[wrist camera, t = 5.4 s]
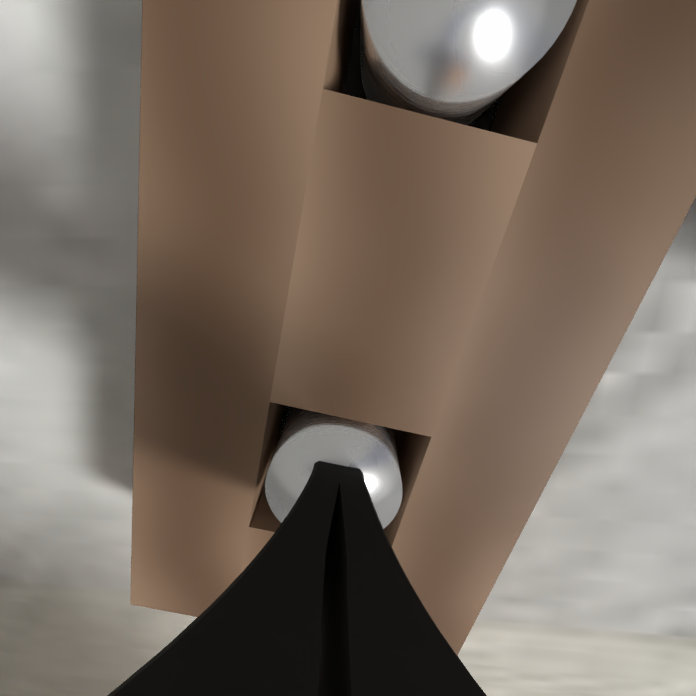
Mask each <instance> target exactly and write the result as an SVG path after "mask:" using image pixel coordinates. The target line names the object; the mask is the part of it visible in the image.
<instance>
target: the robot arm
mask: <svg viewBox="0 0 696 696" xmlns="http://www.w3.org/2000/svg"><path fill="white" fill-rule="evenodd" d="M108 696H486V694H485V693H484V692H483V690H482V689H481V688H480V687H479V685H478V684H477V683H476V681H475V680H474V679H473V677H472V676H471V675H470V673H469V672H468V670H467V669H466V668H465V666H464V665H463V663H462V662H461V660H460V659H459V658H458V656H457V655H456V653H455V652H454V650H453V649H452V648H451V646H450V645H449V643H448V642H447V641H446V639H445V638H444V636H443V635H442V633H441V632H440V631H439V629H438V628H437V626H436V624H435V623H434V621H433V620H432V618H431V616H430V615H429V613H428V612H427V610H426V609H425V607H424V605H423V604H422V602H421V600H420V599H419V597H418V595H417V594H416V592H415V590H414V588H413V587H412V585H411V583H410V581H409V580H408V578H407V576H406V574H405V572H404V570H403V569H402V567H401V565H400V563H399V561H398V559H397V557H396V555H395V553H394V551H393V549H392V547H391V545H390V542H389V540H388V538H387V536H386V534H385V531H384V529H383V527H382V524H381V522H380V520H379V517H378V515H377V513H376V510H375V508H374V505H373V502H372V500H371V497H370V494H369V491H368V488H367V485H366V482H365V479H364V475H363V472H362V471H361V469H357V468H352V467H348V466H343V465H338V464H333V463H328V462H323V461H318V462H316V463H314V467H313V470H312V473H311V475H310V477H309V479H308V482H307V483H306V485H305V487H304V489H303V491H302V493H301V494H300V496H299V498H298V499H297V501H296V502H295V504H294V506H293V507H292V509H291V510H290V512H289V513H288V515H287V516H286V518H285V519H284V520H283V522H282V523H281V525H280V526H279V527H278V529H277V530H276V531H275V533H274V534H273V536H272V537H271V538H270V539H269V541H268V542H267V543H266V545H265V546H264V547H263V548H262V550H261V551H260V552H259V553H258V554H257V556H256V557H255V558H254V559H253V560H252V561H251V563H250V564H249V565H248V566H247V567H246V568H245V569H244V571H243V572H242V573H241V574H240V575H239V576H238V577H237V578H236V579H235V580H234V581H233V582H232V583H231V585H230V586H229V587H228V588H227V589H226V590H225V591H224V592H223V593H222V594H221V595H220V596H219V597H218V598H217V599H216V600H215V601H214V602H213V603H212V604H211V605H210V606H209V607H208V608H207V609H206V610H205V611H204V612H203V613H202V614H201V615H200V616H198V617H197V618H196V619H195V620H194V621H193V622H192V623H191V624H190V625H189V626H188V627H187V628H186V629H185V630H184V631H182V632H181V633H180V634H179V635H178V636H177V637H176V638H175V639H174V640H173V641H172V642H171V643H169V644H168V645H167V646H166V647H165V648H164V649H163V650H162V651H160V652H159V653H158V654H157V655H156V656H155V657H153V658H152V659H151V660H150V661H149V662H147V663H146V664H145V665H144V666H143V667H141V668H140V669H139V670H138V671H137V672H135V673H134V674H133V675H132V676H131V677H129V678H128V679H127V680H126V681H125V682H123V683H122V684H121V685H120V686H119V687H117V688H116V689H115V690H114V691H113V692H111V693H110V694H109V695H108Z"/></svg>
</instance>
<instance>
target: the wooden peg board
mask: <svg viewBox="0 0 696 696" xmlns="http://www.w3.org/2000/svg"><path fill="white" fill-rule="evenodd" d="M360 4H361V0H143V1H142V51H141V102H140V152H139V203H138V253H137V304H136V354H135V404H134V455H133V505H132V556H131V604H132V605H137V606H143V607H148V608H153V609H159V610H164V611H169V612H174V613H180V614H185V615H190V616H196V617H198V616H200V615H201V614H202V613H203V612H204V611H205V610H206V609H207V608H208V607H209V606H210V605H211V604H212V603H213V602H214V601H215V600H216V599H217V598H218V597H219V596H220V595H221V594H222V593H223V592H224V591H225V590H226V589H227V588H228V587H229V586H230V585H231V583H232V582H233V581H234V580H235V579H236V578H237V577H238V576H239V575H240V574H241V573H242V572H243V571H244V569H245V568H246V567H247V566H248V565H249V564H250V563H251V561H252V560H253V559H254V558H255V557H256V556H257V554H258V553H259V552H260V551H261V550H262V548H263V547H264V546H265V545H266V543H267V542H268V541H269V539H270V538H271V537H272V536H273V534H274V533H275V531H276V530H277V529H278V527H279V526H280V525H281V522H280V521H279V520H278V519H277V517H276V516H275V515H274V514H273V512H272V510H271V508H270V506H269V504H268V501H267V498H266V493H265V480H266V475H267V472H268V469H269V466H270V464H271V461H272V458H273V456H274V453H275V450H276V448H277V445H278V442H279V437H280V432H281V427H282V421H283V416H284V411H285V405H286V406H291V407H295V408H300V409H304V410H309V411H314V412H318V413H323V414H328V415H332V416H337V417H341V418H346V419H351V420H355V421H360V422H365V423H369V424H374V425H378V426H383V427H388V428H392V429H396V430H395V433H394V436H395V443H396V449H397V455H398V462H399V468H400V475H401V481H402V491H403V493H402V501H401V505H400V508H399V510H398V512H397V514H396V516H395V517H394V519H393V520H392V521H391V522H390V523H389V525H388V526H386V527H385V528H384V531H385V534H386V536H387V538H388V540H389V542H390V545H391V547H392V549H393V551H394V553H395V555H396V557H397V559H398V561H399V563H400V565H401V567H402V569H403V570H404V572H405V574H406V576H407V578H408V580H409V581H410V583H411V585H412V587H413V588H414V590H415V592H416V594H417V595H418V597H419V599H420V600H421V602H422V604H423V605H424V607H425V609H426V610H427V612H428V613H429V615H430V616H431V618H432V620H433V621H434V623H435V624H436V626H437V628H438V629H439V631H440V632H441V633H442V635H443V636H444V638H445V639H446V641H447V642H448V643H449V645H450V646H451V648H452V649H453V650H454V652H455V653H456V655H458V653H459V651H460V649H461V647H462V645H463V644H464V642H465V640H466V638H467V636H468V634H469V632H470V630H471V628H472V626H473V624H474V622H475V620H476V619H477V617H478V615H479V613H480V611H481V609H482V607H483V605H484V603H485V601H486V599H487V597H488V595H489V594H490V592H491V590H492V588H493V586H494V584H495V582H496V580H497V578H498V576H499V574H500V572H501V570H502V569H503V567H504V565H505V563H506V561H507V559H508V557H509V555H510V553H511V551H512V549H513V547H514V545H515V544H516V542H517V540H518V538H519V536H520V534H521V532H522V530H523V528H524V526H525V524H526V522H527V521H528V519H529V517H530V515H531V513H532V511H533V509H534V507H535V505H536V503H537V501H538V499H539V497H540V496H541V494H542V492H543V490H544V488H545V486H546V484H547V482H548V480H549V478H550V476H551V474H552V472H553V471H554V469H555V467H556V465H557V463H558V461H559V459H560V457H561V455H562V453H563V451H564V449H565V447H566V446H567V444H568V442H569V440H570V438H571V436H572V434H573V432H574V430H575V428H576V426H577V424H578V422H579V421H580V419H581V417H582V415H583V413H584V411H585V409H586V407H587V405H588V403H589V401H590V399H591V398H592V396H593V394H594V392H595V390H596V388H597V386H598V384H599V382H600V380H601V378H602V376H603V374H604V373H605V371H606V369H607V367H608V365H609V363H610V361H611V359H612V357H613V355H614V353H615V351H616V349H617V348H618V346H619V344H620V342H621V340H622V338H623V336H624V334H625V332H626V330H627V328H628V326H629V324H630V323H631V321H632V319H633V317H634V315H635V313H636V311H637V309H638V307H639V305H640V303H641V301H642V299H643V298H644V296H645V294H646V292H647V290H648V288H649V286H650V284H651V282H652V280H653V278H654V276H655V275H656V273H657V271H658V269H659V267H660V265H661V263H662V261H663V259H664V257H665V255H666V253H667V251H668V250H669V248H670V246H671V244H672V242H673V240H674V238H675V236H676V234H677V232H678V230H679V228H680V226H681V225H682V223H683V221H684V219H685V217H686V215H687V213H688V211H689V209H690V207H691V205H692V203H693V201H694V200H695V198H696V0H577V2H576V4H575V6H574V9H573V11H572V13H571V15H570V17H569V19H568V21H567V23H566V25H565V27H564V29H563V30H562V32H561V33H560V35H559V36H558V38H557V39H556V41H555V42H554V44H553V45H552V46H551V47H550V49H549V50H548V51H547V52H546V53H545V55H544V56H543V57H542V58H541V59H540V60H539V61H538V62H537V63H536V64H535V65H534V66H533V67H532V68H531V69H530V70H529V71H528V72H527V73H525V74H524V75H523V76H522V77H521V78H520V79H519V80H518V81H517V82H516V83H514V84H513V85H512V86H511V87H510V88H509V89H508V90H507V91H506V92H505V93H504V94H502V95H501V98H500V101H499V104H498V107H497V111H496V114H495V117H494V120H493V123H492V126H491V130H490V131H487V130H483V129H479V128H475V127H471V126H467V125H463V124H459V123H455V122H452V121H448V120H444V119H440V118H436V117H432V116H428V115H424V114H420V113H416V112H412V111H409V110H405V109H401V108H397V107H393V106H389V105H385V104H381V103H377V102H373V101H369V100H365V99H362V98H358V97H354V96H350V95H346V94H344V89H345V84H346V79H347V73H348V68H349V62H350V57H351V52H352V46H353V41H354V36H355V30H356V25H357V20H358V14H359V9H360Z"/></svg>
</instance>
